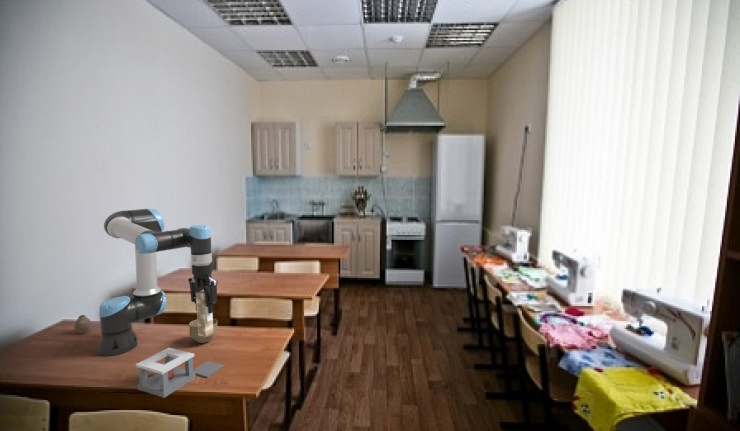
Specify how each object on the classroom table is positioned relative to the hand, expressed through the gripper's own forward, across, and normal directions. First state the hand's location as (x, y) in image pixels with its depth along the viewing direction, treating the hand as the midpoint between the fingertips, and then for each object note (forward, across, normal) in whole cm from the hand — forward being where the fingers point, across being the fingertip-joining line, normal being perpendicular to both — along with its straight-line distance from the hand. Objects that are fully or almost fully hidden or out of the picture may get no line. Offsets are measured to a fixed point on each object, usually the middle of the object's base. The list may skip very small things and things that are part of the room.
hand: (205, 319), depth 144 cm
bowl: (+22, -22, +19) cm, 37 cm away
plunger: (+21, -7, -13) cm, 26 cm away
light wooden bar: (+6, 0, 0) cm, 6 cm away
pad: (+22, 0, 0) cm, 22 cm away
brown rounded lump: (+22, -89, +4) cm, 92 cm away
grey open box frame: (+22, -7, -13) cm, 26 cm away
